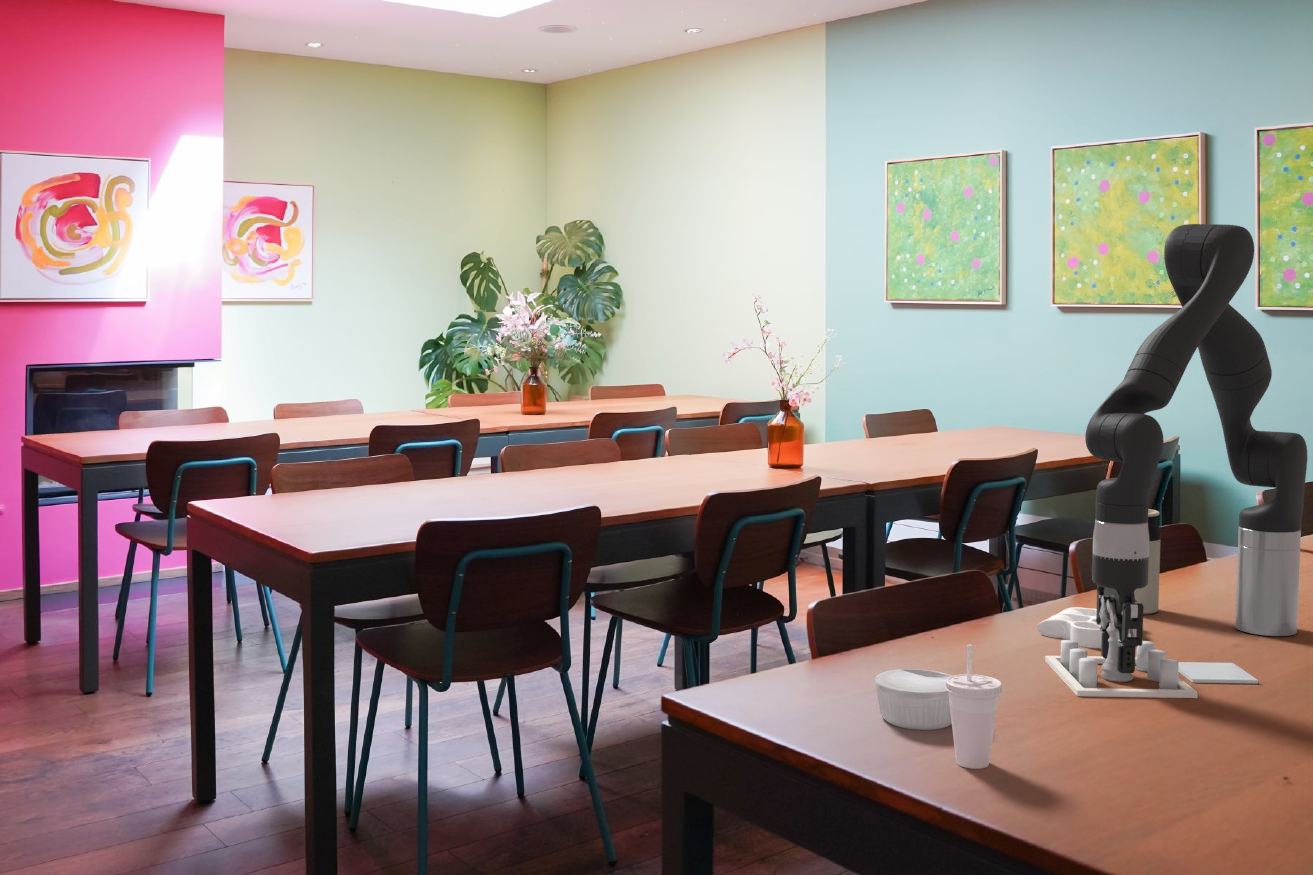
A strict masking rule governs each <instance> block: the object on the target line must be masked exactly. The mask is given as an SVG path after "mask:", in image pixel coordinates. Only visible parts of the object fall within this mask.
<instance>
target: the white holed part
mask: <svg viewBox="0 0 1313 875" xmlns="http://www.w3.org/2000/svg"><path fill="white" fill-rule="evenodd" d="M1096 612H1097V608H1088V607H1082V606H1081V607H1080V606H1077V607H1067V608H1065V609H1063V610H1061V611H1060V612H1058V613H1056V614H1054V615H1052V616H1050V617H1048V618H1047V619H1044V620H1043V621H1040V622H1038V623H1037V624H1038V625H1037V630H1038V632H1039V633H1040V634H1041V635H1043V636H1045V637H1049V638H1058V639H1063V640H1074V641H1077V642H1078V647H1083V648H1087V649H1101V642H1102V633H1103V632H1101V631H1100V629H1099V626H1100V625H1097V622H1096ZM1145 630H1146V629H1145V628H1144V627H1143V631H1145ZM1128 637H1131V634H1130V633H1129V634H1128Z"/></svg>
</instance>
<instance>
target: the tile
mask: <svg viewBox="0 0 1313 875" xmlns="http://www.w3.org/2000/svg"><path fill="white" fill-rule="evenodd" d="M1178 662H1179V666H1178V673H1179V674H1181V675H1182V676H1183V677H1185V678H1186V679H1187V680H1189V681H1190V682H1191V683H1196V684H1253V685H1254V684H1256V685H1257V684H1259V679H1257V678H1256V677H1254V676H1252V675H1251V674H1250V673H1249V672H1247V671H1245V670H1244V669H1243V668H1242V667H1240V666H1238V665H1237V664H1235V663H1234V662H1201V661H1199V662H1197V661H1196V662H1192V661H1189V662H1188V661H1187V662H1186V661H1178Z"/></svg>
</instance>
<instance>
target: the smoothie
mask: <svg viewBox="0 0 1313 875" xmlns="http://www.w3.org/2000/svg"><path fill="white" fill-rule="evenodd" d="M972 667H973V645H972V644H970V643H969V644H967V645H966V673H962V674H955V675H952V676H951V677H949V678H947V679H946V687H945V689H946V690H947V691H948V693H949V704H950V712H951V721H952V724H951V727H952V728H951V729H952V736H953V737H952V738H953V745H954V746H953V747H954V756H955V763H956V765H958V766H960V767H962V768H965V769H973V770H974V769H975V770H978V769H979V770H980V769H981V770H982V769H986V768H987V767H989V765H990V758H991V752H992V745H993V738H994V732H995V727H996V725H995V724H996V718H997V712H998V708H999V707H998V706H999V697H1000V695H1001V694H1003V683H1002V682H1001V681H1000V680H999V679H997V678H995V677H991V676H987V675H982V674H975V673H974V674H973V672H972V671H973V668H972Z"/></svg>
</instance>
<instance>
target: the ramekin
mask: <svg viewBox="0 0 1313 875" xmlns="http://www.w3.org/2000/svg"><path fill="white" fill-rule="evenodd" d="M951 676H953V675H952V674H949V673H945V672H940V671H937V670H929V669H923V668H922V669H920V668H900V669H899V668H898V669H897V668H896V669H891V670H890V669H889V670H886V671H883V672H881V673H879V674H877V675H876V676H875V678H874V687H875V689H876V694H877V700H878V701H877V703H878V706H879V707H878V709H879V713H880V715H881V717H883V719H884V720H885V722H887V723H888V724H891V725H893V726H895V727H899V728H902V729H903V728H904V729H908V730H919V731H920V730H921V731H930V730H931V731H932V730H940V729H944V728H947V727H950V726H952V721H951V712H950V704H949V693H948V691H947V690H946V689H945V687H946V679H947V678H949V677H951Z"/></svg>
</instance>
